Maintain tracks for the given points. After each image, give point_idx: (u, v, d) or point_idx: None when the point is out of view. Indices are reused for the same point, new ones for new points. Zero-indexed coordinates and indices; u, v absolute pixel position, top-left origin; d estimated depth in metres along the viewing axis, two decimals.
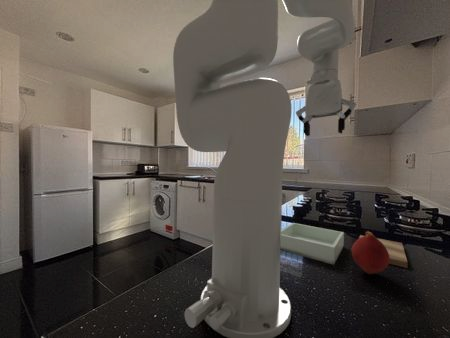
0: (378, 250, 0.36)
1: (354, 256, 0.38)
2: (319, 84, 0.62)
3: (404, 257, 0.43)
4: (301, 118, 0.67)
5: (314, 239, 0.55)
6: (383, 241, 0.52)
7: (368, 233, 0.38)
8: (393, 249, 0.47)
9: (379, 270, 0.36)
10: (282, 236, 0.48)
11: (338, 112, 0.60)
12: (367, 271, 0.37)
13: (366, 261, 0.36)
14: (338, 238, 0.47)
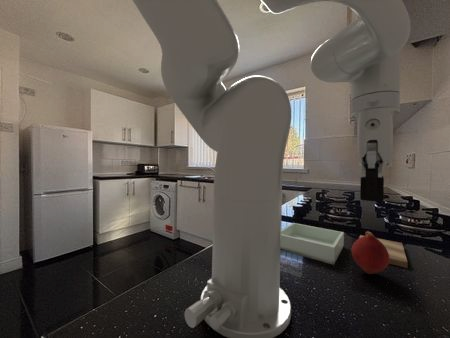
0: (378, 251, 0.36)
1: (354, 256, 0.38)
2: None
3: (404, 257, 0.43)
4: (377, 167, 0.32)
5: (314, 239, 0.55)
6: (383, 241, 0.52)
7: (368, 233, 0.38)
8: (393, 249, 0.47)
9: (379, 270, 0.36)
10: (282, 236, 0.48)
11: None
12: (367, 271, 0.37)
13: (366, 261, 0.36)
14: (338, 238, 0.47)
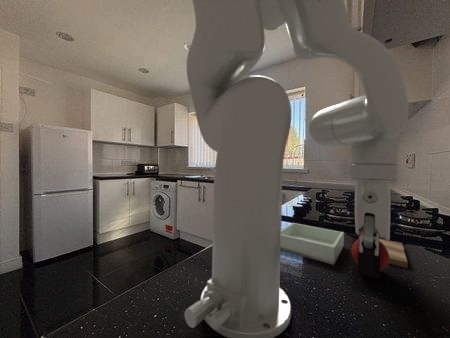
0: None
1: (354, 256, 0.38)
2: (389, 185, 0.36)
3: (404, 257, 0.43)
4: (374, 247, 0.34)
5: (314, 239, 0.55)
6: (383, 241, 0.52)
7: None
8: (393, 249, 0.47)
9: None
10: (282, 236, 0.48)
11: None
12: None
13: None
14: (338, 238, 0.47)
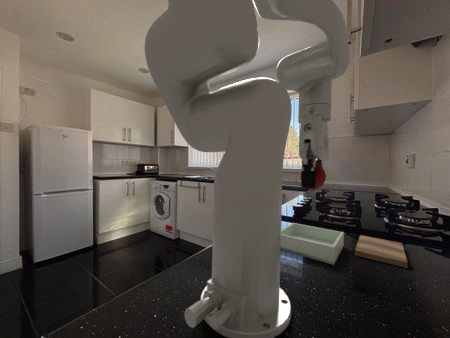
0: (316, 169, 0.48)
1: None
2: (324, 120, 0.48)
3: (404, 257, 0.43)
4: (310, 163, 0.46)
5: (314, 239, 0.55)
6: (383, 241, 0.52)
7: None
8: (393, 249, 0.47)
9: (317, 184, 0.48)
10: (282, 236, 0.48)
11: (322, 162, 0.52)
12: None
13: None
14: (338, 238, 0.47)
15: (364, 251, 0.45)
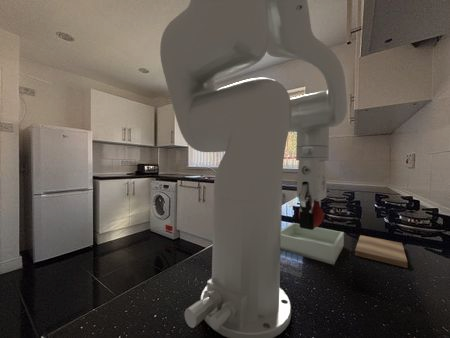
0: (314, 210, 0.48)
1: (299, 216, 0.51)
2: (322, 161, 0.48)
3: (404, 257, 0.43)
4: (308, 206, 0.46)
5: (314, 239, 0.55)
6: (383, 241, 0.52)
7: None
8: (393, 249, 0.47)
9: (315, 225, 0.48)
10: (282, 236, 0.48)
11: (319, 200, 0.52)
12: None
13: None
14: (338, 238, 0.47)
15: (364, 251, 0.45)
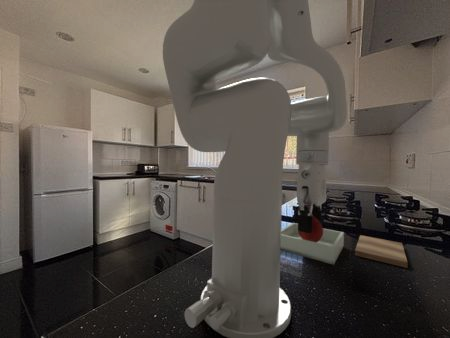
0: (314, 226, 0.48)
1: (298, 231, 0.50)
2: (322, 166, 0.48)
3: (404, 257, 0.43)
4: (307, 209, 0.45)
5: None
6: (383, 241, 0.52)
7: None
8: (393, 249, 0.47)
9: (314, 240, 0.48)
10: (282, 236, 0.48)
11: None
12: None
13: (305, 233, 0.48)
14: (338, 238, 0.47)
15: (364, 251, 0.45)
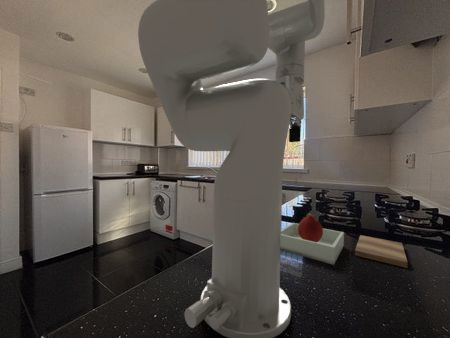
0: (313, 226, 0.48)
1: (298, 232, 0.50)
2: (298, 81, 0.53)
3: (404, 257, 0.43)
4: None
5: None
6: (383, 241, 0.52)
7: (309, 214, 0.50)
8: (393, 249, 0.47)
9: (314, 241, 0.48)
10: (282, 236, 0.48)
11: (299, 120, 0.57)
12: None
13: (305, 234, 0.48)
14: (338, 238, 0.47)
15: (364, 251, 0.45)
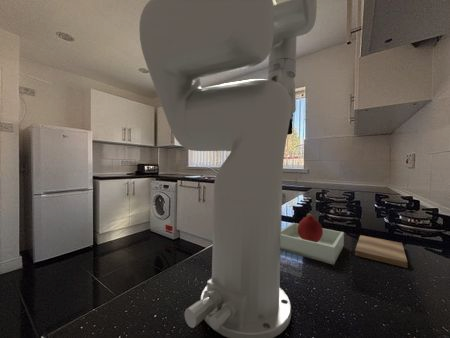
0: (313, 226, 0.48)
1: (298, 232, 0.50)
2: (289, 75, 0.55)
3: (404, 257, 0.43)
4: None
5: None
6: (383, 241, 0.52)
7: (308, 214, 0.50)
8: (393, 249, 0.47)
9: (314, 241, 0.48)
10: (282, 236, 0.48)
11: (290, 114, 0.59)
12: None
13: (305, 234, 0.48)
14: (338, 238, 0.47)
15: (364, 251, 0.45)
